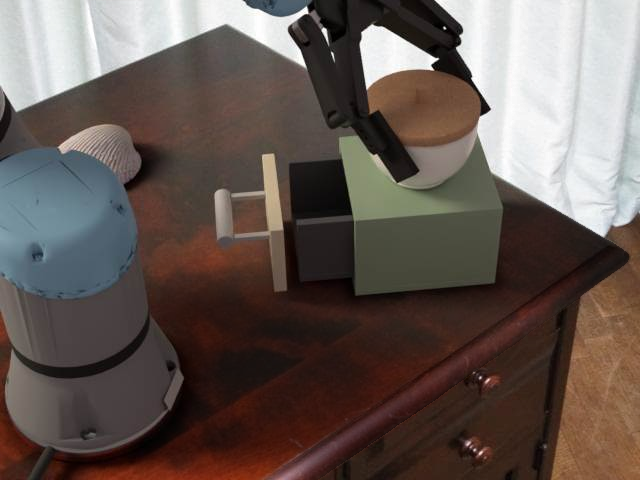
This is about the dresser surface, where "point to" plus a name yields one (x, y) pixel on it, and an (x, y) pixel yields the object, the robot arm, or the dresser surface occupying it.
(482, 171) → the cabinet
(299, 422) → the dresser surface
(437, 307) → the dresser surface
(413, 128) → the trinket box
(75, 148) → the seashell
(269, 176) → the drawer
